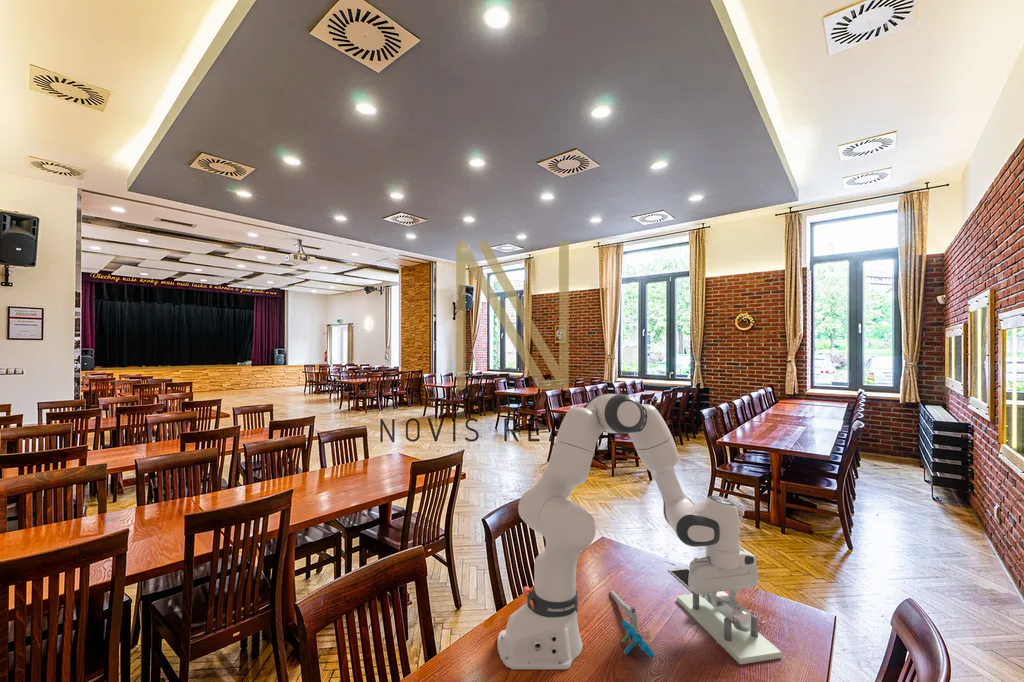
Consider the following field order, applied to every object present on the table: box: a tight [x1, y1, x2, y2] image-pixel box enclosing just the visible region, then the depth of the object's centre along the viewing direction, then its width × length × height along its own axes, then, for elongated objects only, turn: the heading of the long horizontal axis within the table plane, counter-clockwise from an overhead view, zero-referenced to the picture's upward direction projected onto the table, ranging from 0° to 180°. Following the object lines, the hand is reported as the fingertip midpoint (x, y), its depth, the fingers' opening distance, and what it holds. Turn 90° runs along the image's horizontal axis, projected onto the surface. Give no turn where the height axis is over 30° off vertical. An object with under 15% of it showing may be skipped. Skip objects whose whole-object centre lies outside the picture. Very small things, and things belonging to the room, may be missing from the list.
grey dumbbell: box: [699, 591, 752, 632], centre depth 123 cm, size 4×19×4 cm, turn 11°
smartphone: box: [667, 566, 693, 593], centre depth 147 cm, size 7×16×1 cm, turn 12°
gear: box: [620, 619, 655, 658], centre depth 113 cm, size 11×6×10 cm
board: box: [676, 592, 783, 665], centre depth 123 cm, size 12×28×6 cm, turn 11°
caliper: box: [608, 590, 638, 633], centre depth 130 cm, size 20×1×6 cm, turn 7°
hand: (723, 604), depth 123 cm, fingers closed on grey dumbbell, 3 cm apart
